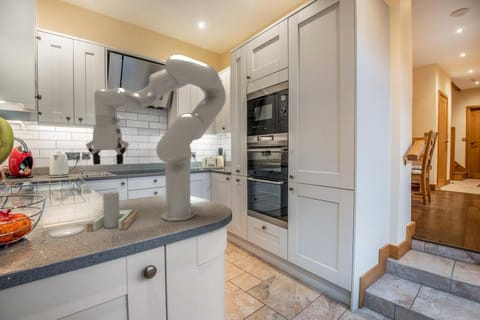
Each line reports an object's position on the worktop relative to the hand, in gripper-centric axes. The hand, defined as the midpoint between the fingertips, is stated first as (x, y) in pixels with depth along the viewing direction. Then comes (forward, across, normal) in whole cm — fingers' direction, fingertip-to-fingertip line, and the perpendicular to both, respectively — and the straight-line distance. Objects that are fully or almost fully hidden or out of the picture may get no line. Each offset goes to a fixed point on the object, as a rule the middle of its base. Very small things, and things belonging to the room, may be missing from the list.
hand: (108, 164), depth 92 cm
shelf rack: (+21, -8, +9) cm, 24 cm away
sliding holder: (+21, -8, +9) cm, 24 cm away
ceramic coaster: (+21, +2, +19) cm, 28 cm away
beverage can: (+21, -8, +12) cm, 26 cm away
